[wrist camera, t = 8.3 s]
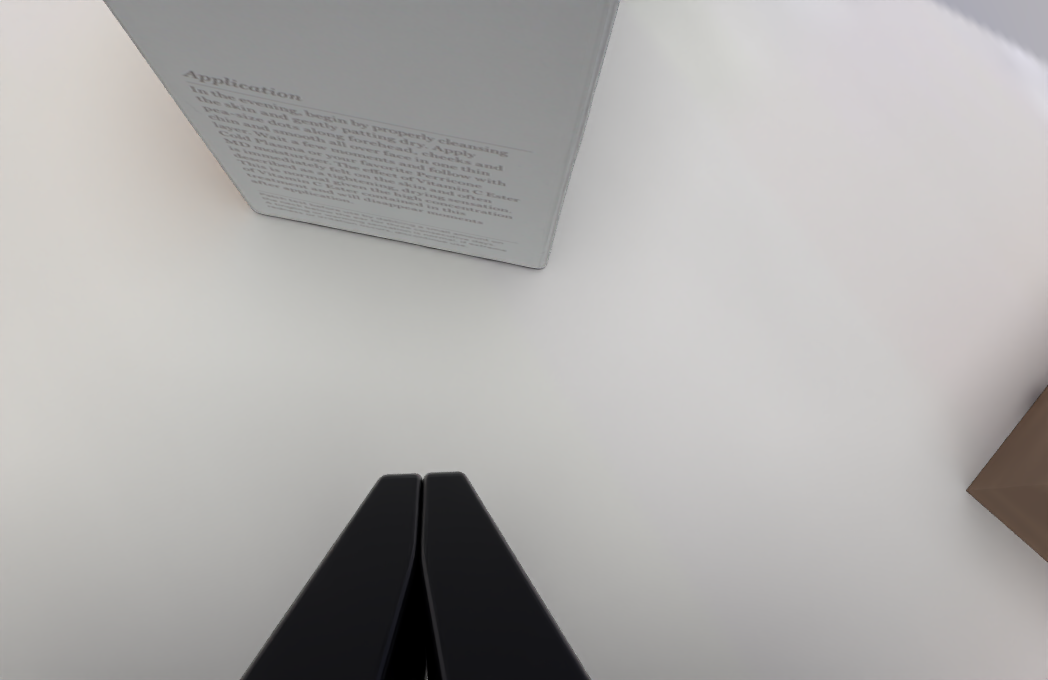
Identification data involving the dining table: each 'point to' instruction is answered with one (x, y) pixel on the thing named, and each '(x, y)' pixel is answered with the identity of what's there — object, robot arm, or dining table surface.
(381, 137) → the small box
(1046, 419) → the walnut block one
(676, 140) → the dining table surface
